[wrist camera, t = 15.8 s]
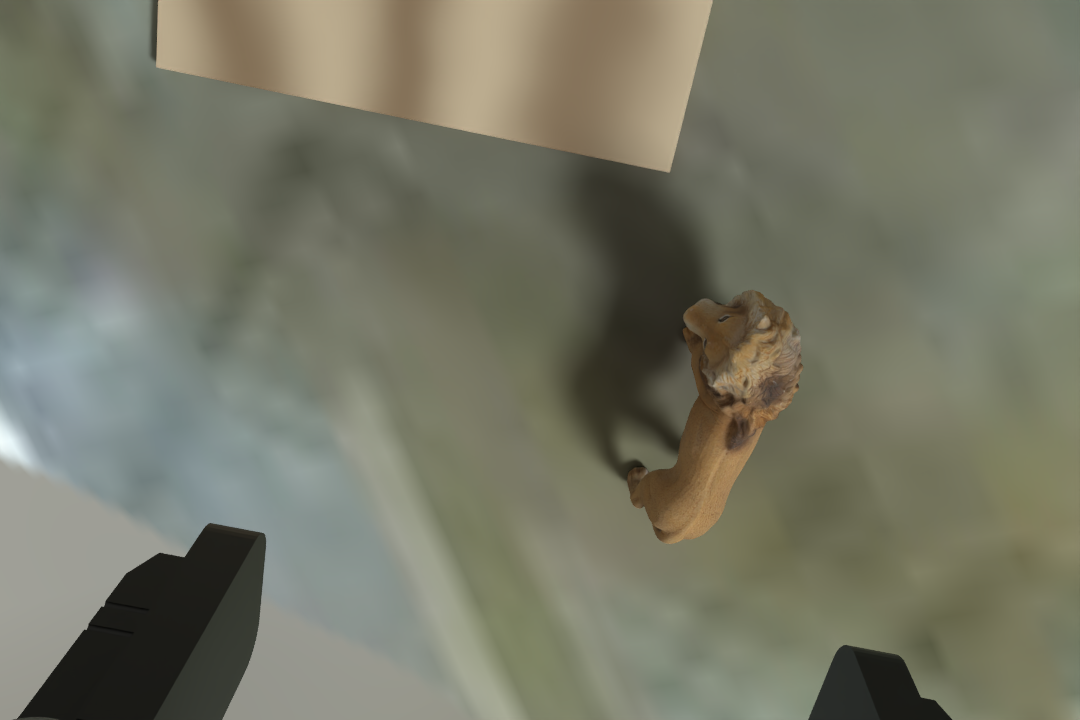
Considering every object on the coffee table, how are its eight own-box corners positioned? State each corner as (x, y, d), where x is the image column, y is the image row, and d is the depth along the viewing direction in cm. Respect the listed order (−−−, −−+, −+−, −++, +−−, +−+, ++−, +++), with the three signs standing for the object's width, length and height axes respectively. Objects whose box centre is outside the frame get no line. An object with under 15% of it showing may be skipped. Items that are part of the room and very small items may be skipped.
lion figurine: (675, 237, 41) (697, 307, 33) (793, 256, 42) (844, 330, 33) (616, 515, 47) (621, 633, 39) (719, 531, 47) (747, 651, 39)
